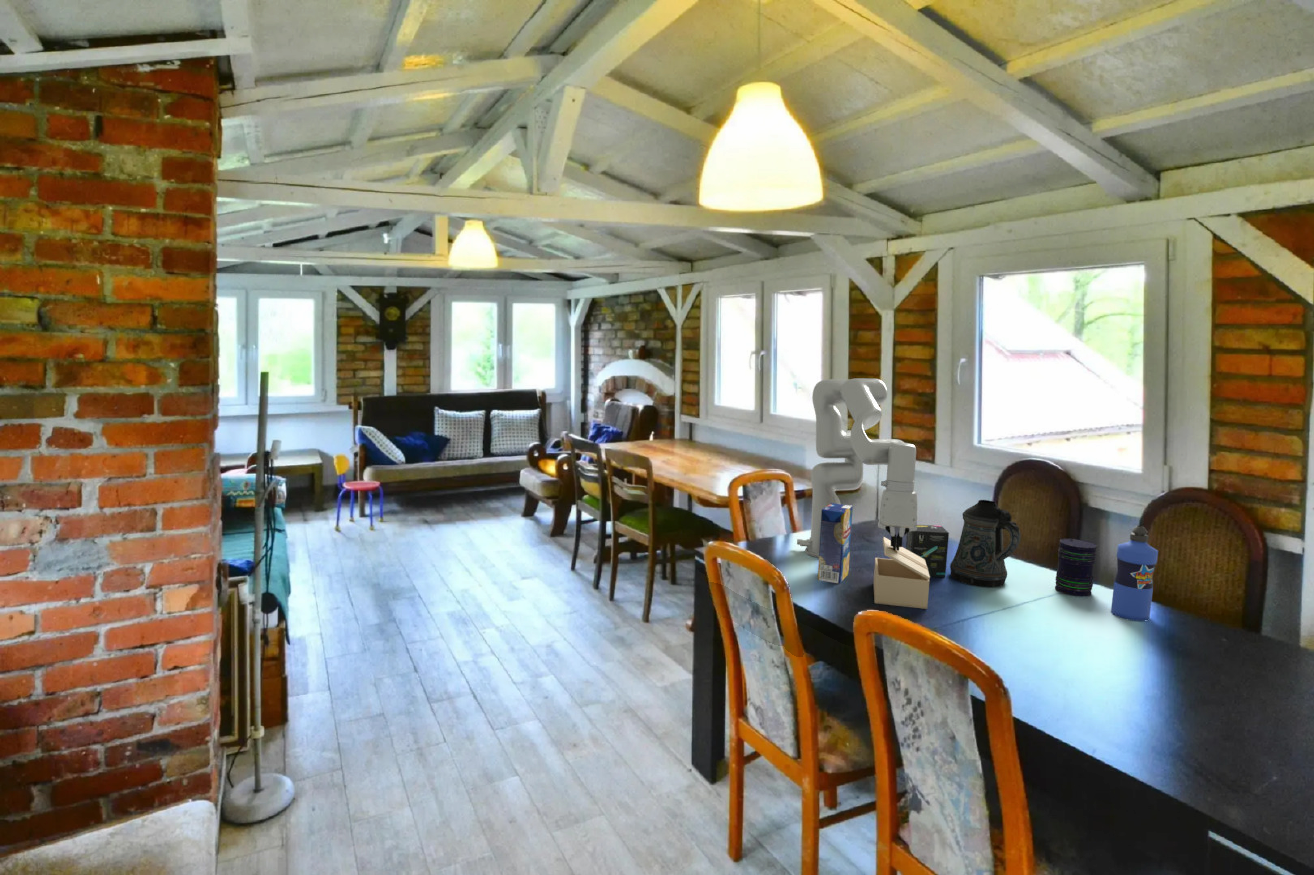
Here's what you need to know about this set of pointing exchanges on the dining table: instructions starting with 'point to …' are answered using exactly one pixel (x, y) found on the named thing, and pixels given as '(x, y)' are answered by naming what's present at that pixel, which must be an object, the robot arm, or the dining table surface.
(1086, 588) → the storage jar
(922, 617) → the dining table surface
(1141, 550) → the water bottle
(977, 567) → the beer stein
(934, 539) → the tampon box
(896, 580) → the carton
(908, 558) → the lid
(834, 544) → the beverage box
